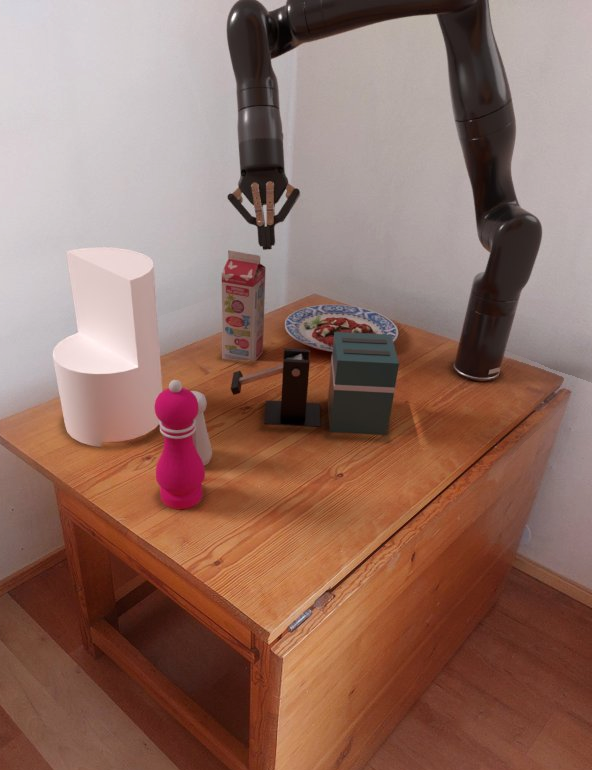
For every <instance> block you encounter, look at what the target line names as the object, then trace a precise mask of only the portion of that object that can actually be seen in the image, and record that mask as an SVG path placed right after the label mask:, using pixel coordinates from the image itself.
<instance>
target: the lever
mask: <svg viewBox="0 0 592 770" xmlns="http://www.w3.org/2000/svg"><path fill="white" fill-rule="evenodd" d="M286 359H297V360H304V359H303V356H302V354H299V355H295V356H292V357H289V358H286ZM280 374H283V364H280V365H277V366H274V367H269V368H267V369H264V370H260V371H257V372H254V373H250V374H247V375H244V376H243V373H242V371H241V370H237V371H233V373H232V379H231V385H230V391H231V394H232V395H233V396H234V395H239V394H241V391H242V386H243V385H246V384H250V383H254V382H256V381H259V380H260V381H261V380H263V379H266V378H270V377H274V376H277V375H280Z"/></svg>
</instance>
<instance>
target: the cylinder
mask: <svg viewBox="0 0 592 770" xmlns="http://www.w3.org/2000/svg"><path fill="white" fill-rule="evenodd" d="M65 254H66V261H67V267H68V273H69V274H68V275H69V281H70V287H71V294H72V300H73V306H74V314H75V320H76V328H77V332H76V333H74V334H71V335H69V336H67V337H64V338H63V339H62V340H59V342H58V343H57V344H56V345H55V346H54V347H53V351H52V359H53V365H54V371H55V372H54V373H55V377H56V383H57V388H58V394H59V399H60V405H61V410H62V416H63V421H64V427H65V429H66V433H67V434H68V435H69V436H70V437H71V438H72V439H73V440H74V441H77V442H79V443H81V444H84V445H88V446H91V447H96V448H97V447H99V448H100V447H101V448H102V446H103V444H104V443H117V442H118V443H119V442H124V441H129V440H134V439H136V438H140V437H143V436H145V435H147V434H148V433H150V432H152V431H153V430H155V429H156V428H157V427H158V426H160V424H159V423H160V420H159V419H158V418H157V416H156V414H155V401H156V398H157V397H158V395H159V394H160V393H161V392H162V391H164V389H163V378H162V365H161V364H162V363H161V351H160V335H159V322H158V321H159V320H158V309H157V307H158V306H157V295H156V294H157V293H156V281H155V267H154V260H152V258H151V257H149V255H146V254H144V253H142V252H139V251H136V250H133V249H127V248H121V247H109V246H108V247H106V246H105V247H103V246H101V247H99V246H98V247H95V246H94V247H84V248H83V247H82V248H76V249H70V250H65Z"/></svg>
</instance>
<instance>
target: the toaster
mask: <svg viewBox="0 0 592 770" xmlns="http://www.w3.org/2000/svg"><path fill="white" fill-rule="evenodd" d="M394 343H395V342H393V339H392V336H391V335H388V334H368V333H348V332H334V342H333V352H331V353H332V354H331V358H330V359H331V360H330V361H331V364H330V372H329V373H330V374H329V381H328V392H327V412H328V427H329V433H337V434H338V433H339V434H358V435H359V434H360V435H379V436H388V432H389V426H390V420H391V414H392V408H393V402H394V396H395V393H396V384H397V378H398V373H399V367H400V362H399V358H398V354H397V350H396V347H395V344H394Z"/></svg>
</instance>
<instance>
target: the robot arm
mask: <svg viewBox="0 0 592 770" xmlns="http://www.w3.org/2000/svg"><path fill="white" fill-rule="evenodd" d="M432 15H436V18H437V21H438V25H439V27H440V31H441V34H442V39H443V42H444V48H445V51H446V52H445V53H446V62H447V76H448V86H449V94H450V95H449V96H450V103H451V109H452V116H453V119H454V123H455V128H456V133H457V137H458V140H459V144H460V147H461V151H462V155H463V160H464V164H465V168H466V172H467V176H468V179H469V182H470V185H471V191H472V198H473V207H474V216H475V224H476V232H477V237H478V241H479V242H480V244H481V246H482V247H483V248H484V249H485V250H486V251H487V252H488V253H489V256H488V259H487V263H486V266H485V269H484V271H481V272H479V273H477V274H475V276H474V277H473V279H472V284H471V289H470V294H469V298H468V302H467V307H466V311H465V316H464V320H463V324H462V329H461V332H460V333H461V334H460V337H459V343H458V347H457V351H456V355H455V359H454V362H453V365H452V368H453V371H454V373H456V374H457V375H458V376H460V377H462V378H465V379H467V380H470V381H476V382H491V381H495V380H497V379H498V378H499V376H500V374H501V373H500V372H501V368H502V363H503V360H504V357H505V354H506V349H507V346H508V342H509V338H510V334H511V331H512V327H513V324H514V320H515V317H516V312H517V309H518V305H519V302H520V297H521V294H522V291H523V290H524V288H525V287H526V286H527V284H528V282H529V280H530V278H531V276H532V272H533V269H534V266H535V264H536V260H537V257H538V254H539V251H540V247H541V244H542V238H543V226H542V223H541V221H540V219H539V218H538V217H537V216H536V215H535V214H533V213H531V212H530V211H528V210H526V209H524V208H522V207H521V205H520V203H519V199H518V197H517V193H516V190H515V185H514V181H513V176H512V163H513V162H512V161H513V156H514V151H515V146H516V137H517V121H516V120H517V119H516V116H515V115H516V113H515V109H514V104H513V97H512V91H511V88H510V84H509V83H510V82H509V79H508V76H507V71H506V68H505V64H504V61H503V58H502V55H501V52H500V50H499V46H498V42H497V40H496V37H495V33H494V29H493V23H492V19H491V10H490V0H286V2H285V4H284V5H281V6H280V7H278V8H275V9H273V10H270V11H268V9H267V8H266V6H265V5H264V4H263V3H262V2H260V1H259V0H237V1H235V3H233V5H232V7H231V8H230V10H229V13H228V15H227V19H226V41H227V47H228V53H229V58H230V63H231V67H232V71H233V76H234V80H235V86H236V88H235V93H236V106H237V125H236V126H237V127H236V128H237V130H236V131H237V144H238V145H237V146H238V157H239V159H238V160H239V170H240V171H239V172H240V175H239V176H240V177H239V180H238V182H237V186H238V187H237V188H236V189H235V190H234V191H232V193H231V192H230V193H229V194H227V200H228V201H229V202H230V204H231V205H232V206H233V207H234V209H235V210H236V211H237V212H238V213H239V214H240V215H241V217H242V218H243V219H244V220H245V222H247V223H248V224H249V225H253V226H256V228H257V243H258V245H259V247H262V250H263V251H268V250H272V249H273V247H274V246H275V245H276V234H275V233H276V231H275V228H276V226H277V225H278V224H280V223H283V222H285V220H286V218H287V217H288V215H289V214H290V212H291V210H292V209H293V208H294V205H296V203H297V202H298V199H299V198H300V196H301V190H300V189H299V188H296V187H294V186H293V185H291V184H290V183H289V179H288V177H287V175H286V171H285V170H286V169H285V152H284V131H283V122H282V117H281V106H280V91H279V82H278V77H277V75H276V73H275V71H274V68H273V64H272V60H273V59H276V58H278V57H280V56H282V55H285V54H286V53H288V52H291V51H293V50H294V49H296V48H298V47H299V46H301V45H303V44H307V43H311V42H316V41H319V40H324V39H326V38H327V39H328V38H330V37H334V36H337V35H341V34H345V33H347V32H352V31H355V30H357V29H361V28H365V27H368V26H372V25H375V24H379V23H382V22H388V21H392V20H398V19H403V18H410V17H420V16H432ZM285 191H286V192H285ZM284 193H285V198H286V200H285V202H284V204H283V205H282V207H281V208H280V209H279V212H278V213H277V214H276V205H277V203H279V201H280V199H281V198H282V196H283V194H284ZM242 194H243V195H244V197H245V198H246V199H247V201H248V202H249V203H250V204H251V205H252V206H254V213H255V216H254V215H253V216H252V214H251V213H250V212H249V211H248V209H247V208H246V207H245V206H244V205H243V204H242V203H243V201H244V198H243V196H242ZM264 206H266V208H265V209H266V221H265V212H264V211H265V210H264ZM272 246H273V247H272Z"/></svg>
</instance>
